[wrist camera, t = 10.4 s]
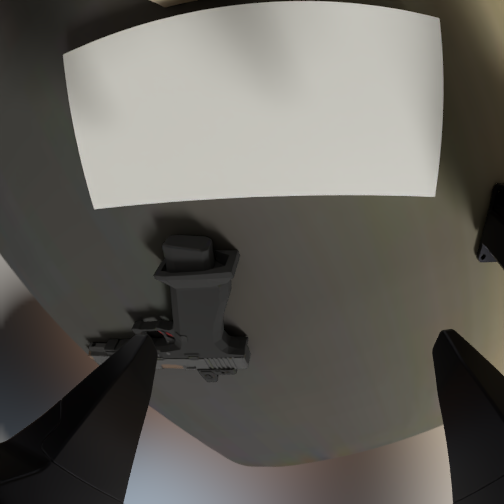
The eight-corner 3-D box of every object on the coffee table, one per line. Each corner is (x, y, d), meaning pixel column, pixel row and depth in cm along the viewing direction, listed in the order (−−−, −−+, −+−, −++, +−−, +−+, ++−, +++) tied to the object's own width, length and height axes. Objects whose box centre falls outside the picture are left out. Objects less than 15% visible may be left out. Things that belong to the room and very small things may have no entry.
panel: (417, 24, 12) (439, 18, 9) (415, 178, 17) (434, 196, 14) (90, 53, 14) (62, 54, 12) (116, 190, 20) (94, 209, 17)
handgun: (22, 278, 23) (98, 378, 30) (218, 241, 18) (273, 385, 25) (40, 259, 25) (108, 358, 33) (228, 217, 20) (276, 357, 28)
